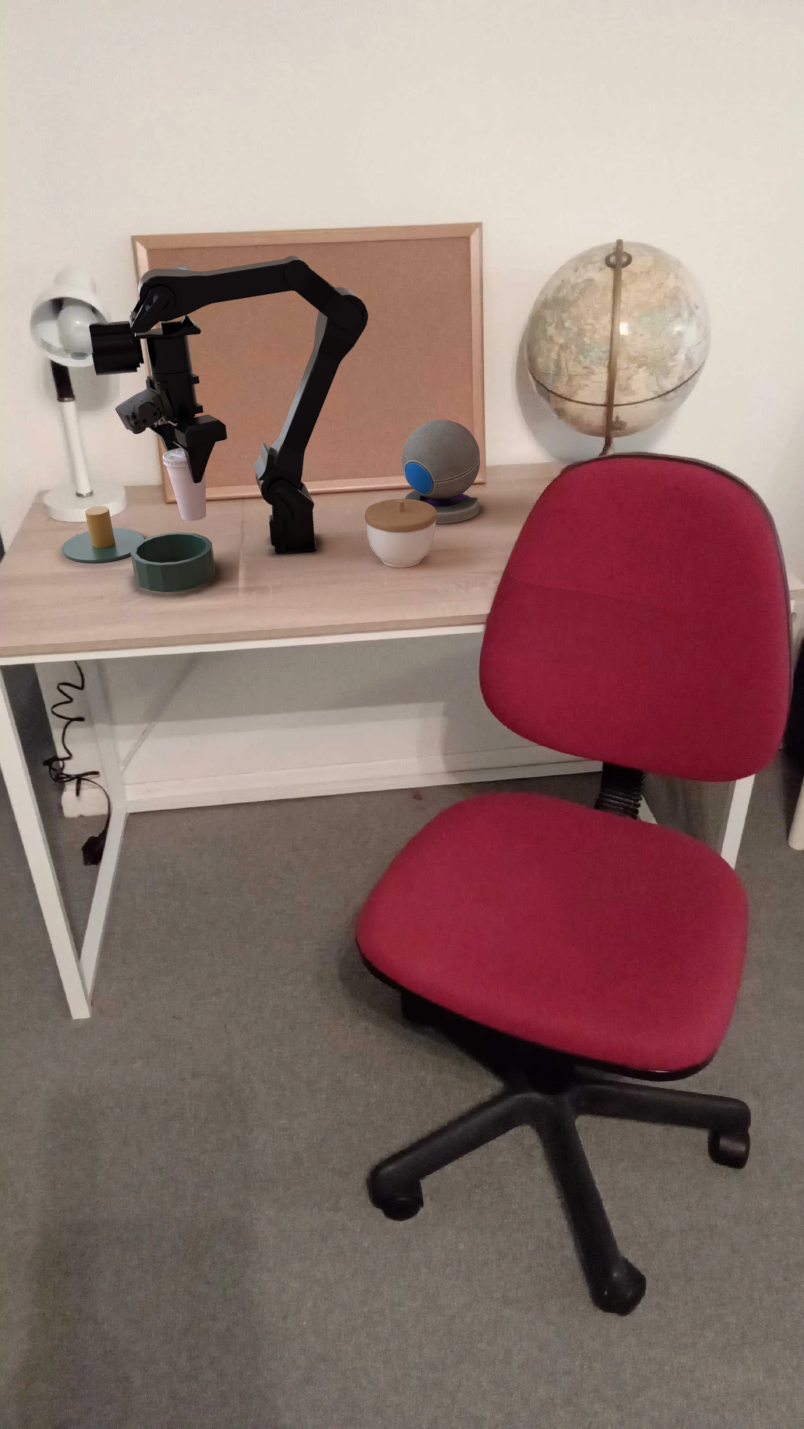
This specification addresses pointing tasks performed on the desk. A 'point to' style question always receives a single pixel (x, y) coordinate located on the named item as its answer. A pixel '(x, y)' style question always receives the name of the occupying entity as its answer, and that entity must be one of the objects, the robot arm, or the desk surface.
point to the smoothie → (185, 486)
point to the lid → (101, 539)
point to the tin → (173, 574)
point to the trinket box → (400, 530)
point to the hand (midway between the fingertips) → (187, 476)
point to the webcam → (442, 468)
